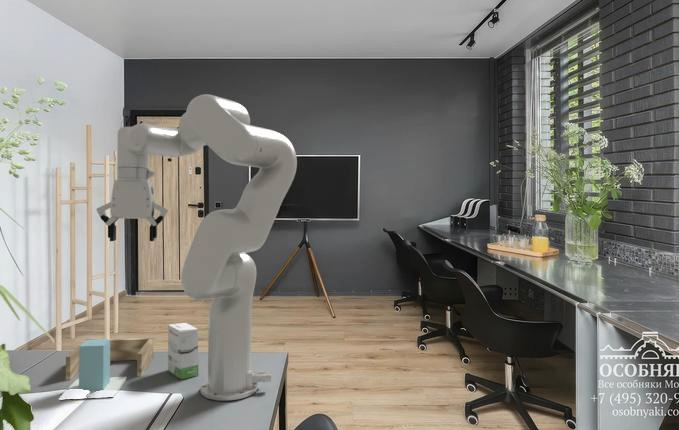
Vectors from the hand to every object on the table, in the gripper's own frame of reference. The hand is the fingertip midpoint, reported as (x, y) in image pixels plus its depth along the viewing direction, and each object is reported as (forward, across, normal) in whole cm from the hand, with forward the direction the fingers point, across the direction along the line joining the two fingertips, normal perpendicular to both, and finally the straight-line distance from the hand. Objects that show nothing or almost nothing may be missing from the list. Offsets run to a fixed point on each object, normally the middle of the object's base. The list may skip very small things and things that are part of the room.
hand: (132, 240), depth 124 cm
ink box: (+33, -14, +9) cm, 37 cm away
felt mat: (+32, +4, +17) cm, 37 cm away
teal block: (+32, +4, +17) cm, 36 cm away
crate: (+32, +4, +3) cm, 33 cm away
